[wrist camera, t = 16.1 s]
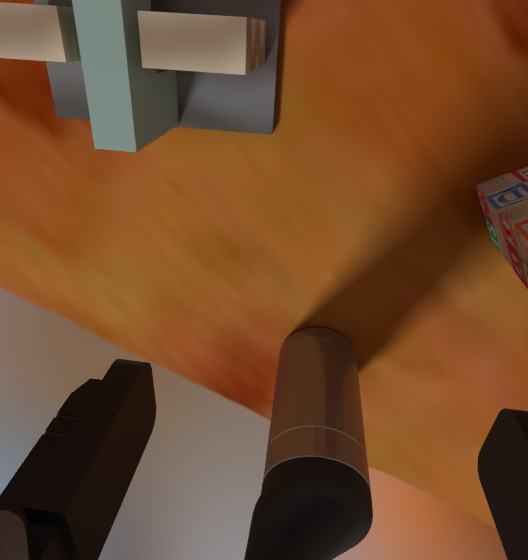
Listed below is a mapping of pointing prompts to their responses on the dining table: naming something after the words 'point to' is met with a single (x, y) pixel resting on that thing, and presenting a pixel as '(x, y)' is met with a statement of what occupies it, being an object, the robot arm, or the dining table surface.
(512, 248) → the stack of blocks
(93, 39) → the sage crossbar
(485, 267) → the dining table surface
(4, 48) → the stand
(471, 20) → the dining table surface
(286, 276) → the dining table surface
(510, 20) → the dining table surface
